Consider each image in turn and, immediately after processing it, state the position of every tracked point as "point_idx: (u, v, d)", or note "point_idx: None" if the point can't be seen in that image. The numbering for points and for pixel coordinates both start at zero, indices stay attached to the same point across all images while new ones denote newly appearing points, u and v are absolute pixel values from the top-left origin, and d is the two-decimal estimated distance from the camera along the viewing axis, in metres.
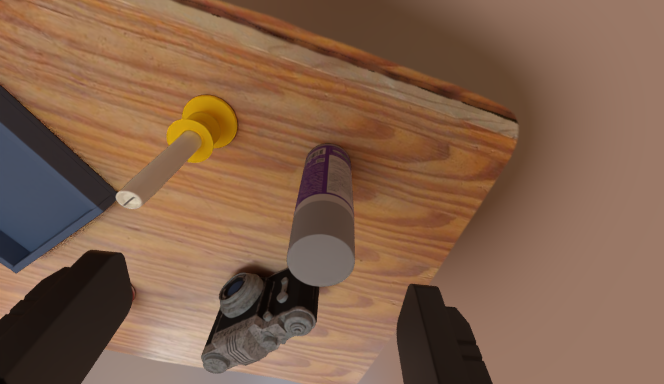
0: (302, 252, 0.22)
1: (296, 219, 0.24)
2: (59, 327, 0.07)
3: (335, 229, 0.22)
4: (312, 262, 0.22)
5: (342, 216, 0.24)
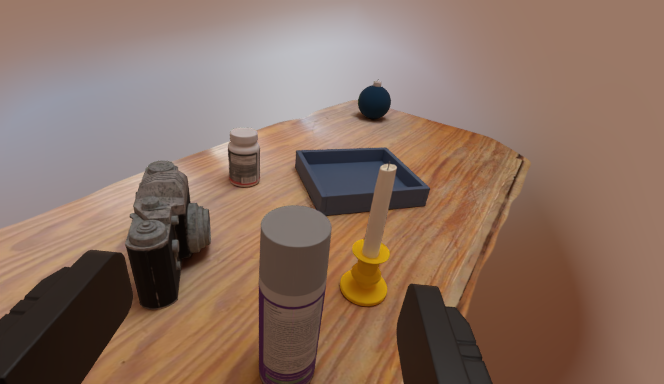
0: (313, 217, 0.23)
1: None
2: (59, 327, 0.07)
3: (322, 251, 0.21)
4: (298, 219, 0.22)
5: (313, 277, 0.22)
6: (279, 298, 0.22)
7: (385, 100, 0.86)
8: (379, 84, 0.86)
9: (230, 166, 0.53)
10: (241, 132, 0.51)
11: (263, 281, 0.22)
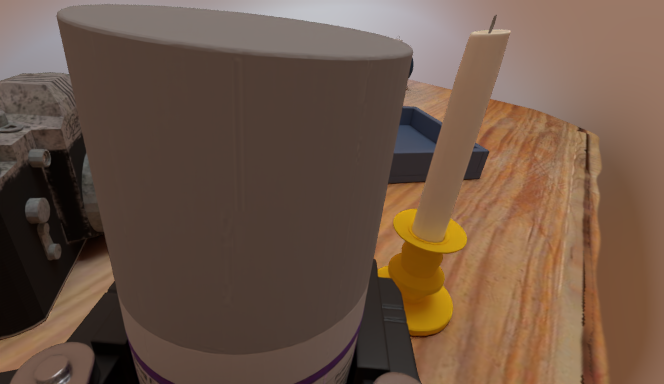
0: (329, 29, 0.06)
1: None
2: None
3: (376, 129, 0.04)
4: (265, 22, 0.05)
5: (327, 270, 0.05)
6: (174, 360, 0.05)
7: None
8: None
9: None
10: None
11: (115, 282, 0.05)
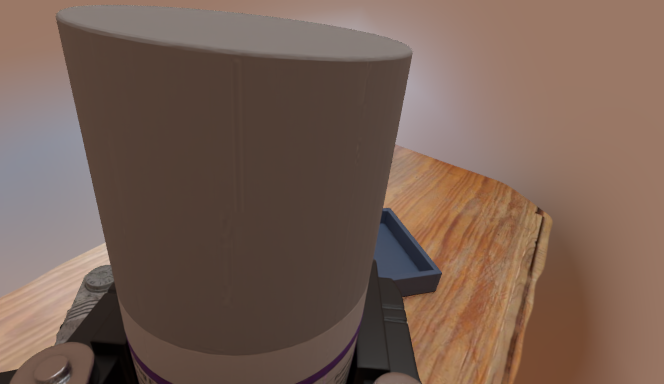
0: (329, 30, 0.06)
1: None
2: None
3: (375, 130, 0.04)
4: (264, 23, 0.05)
5: (326, 271, 0.05)
6: (173, 361, 0.05)
7: None
8: None
9: None
10: None
11: (115, 283, 0.05)
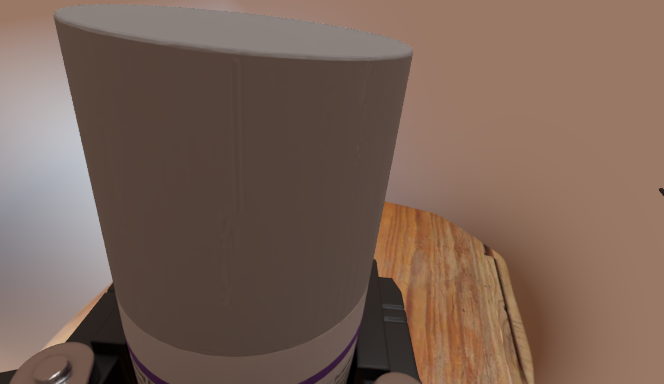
0: (329, 29, 0.06)
1: None
2: None
3: (375, 130, 0.04)
4: (264, 23, 0.05)
5: (326, 271, 0.05)
6: (172, 362, 0.05)
7: None
8: None
9: None
10: None
11: (114, 284, 0.05)
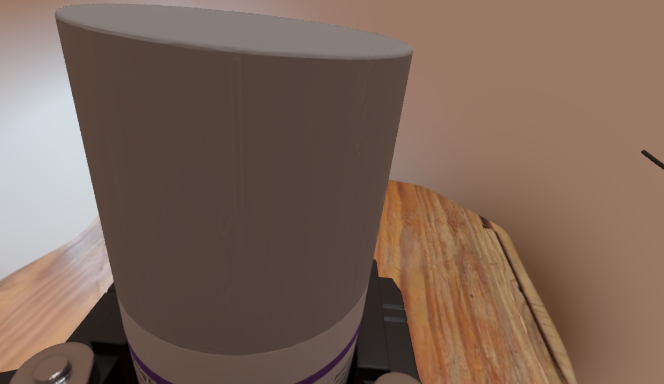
0: (329, 28, 0.06)
1: None
2: None
3: (375, 129, 0.04)
4: (264, 22, 0.05)
5: (326, 270, 0.05)
6: (173, 361, 0.05)
7: None
8: None
9: None
10: None
11: (114, 282, 0.05)
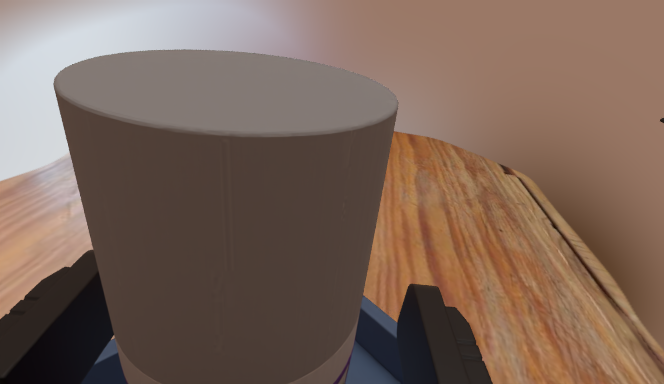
0: (319, 73, 0.06)
1: None
2: (59, 327, 0.07)
3: (361, 187, 0.04)
4: (256, 70, 0.05)
5: (315, 315, 0.05)
6: None
7: None
8: None
9: None
10: None
11: (111, 322, 0.05)
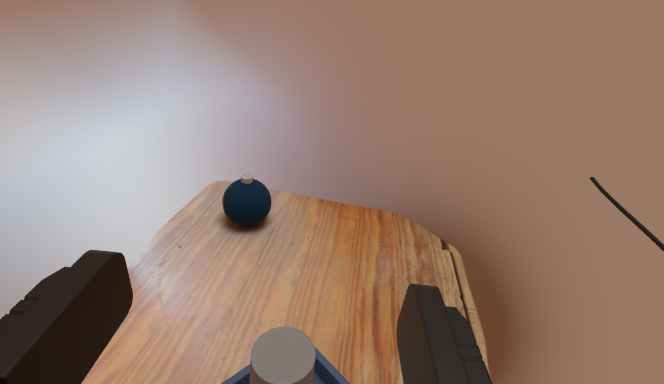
0: (299, 343, 0.25)
1: None
2: (59, 327, 0.07)
3: (306, 382, 0.23)
4: (285, 346, 0.24)
5: None
6: None
7: (265, 201, 0.59)
8: (250, 180, 0.58)
9: None
10: None
11: None
